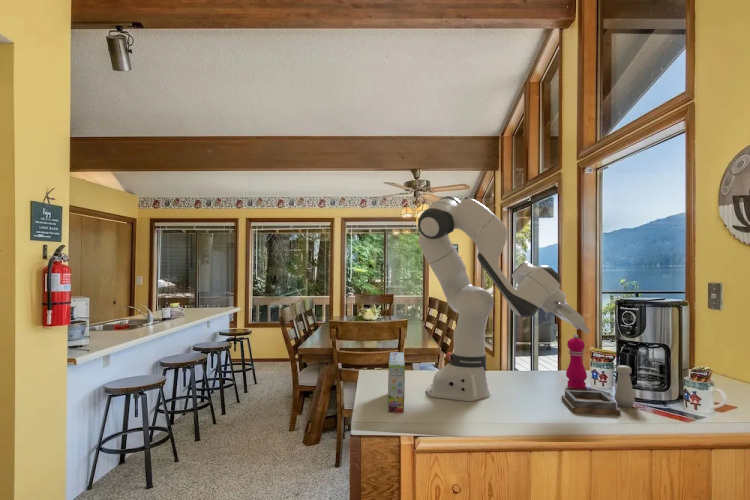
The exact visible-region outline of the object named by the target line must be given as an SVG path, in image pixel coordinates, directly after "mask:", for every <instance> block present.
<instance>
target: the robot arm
mask: <svg viewBox="0 0 750 500" xmlns="http://www.w3.org/2000/svg"><path fill="white" fill-rule="evenodd" d="M417 228H418V231H419V232H420V234H419V236H418V246H419V247H420V249H421V253H422V254H423V256H424V258H425V261H426V262H427V264H428V266H429V267H430V269H431V270H432V272H433V273H434V275H435V277H436V279H437V281H438V282H439V284H440V287H441V289H442V292H443V294H444V297H445V299H446V303H447V305H448V307H449V308H450V309H451V310H452V311H453V312H455V313H457V314H458V317H457V323H456V327H455V329H454V331H453V353H452V352H447V353H446V358H447V364H446V365H445V366H443V367H442V368H440V369H439V370H438V371H436V373H435V374H434V376H433V379H432V383H431V384H429V385H428V386H427V387H426V394H427V396H429V397H431V398H438V399H445V400H457V401H463V402H475V401H478V400H482V399H485V398H486V399H487V398H488V397H489V396H490V395H491V393H490V390H489V385H488V380H487V374H486V373H487V366H488V365H487V355H486V350H485V349H486V343H485V342H486V339H485V338H486V329H487V323H488V319H489V316H490V313H491V312H492V311H493V309H494V303H495V301H494V298H493V296H492V294H491V292H489V291H488V290H487V289H484V288H483V287H480V286H476V285H473V284H472V283H471V281H470V279H469V276H468V274H467V266H466V264H465V262H464V261H463V260H462V258H461V256H460V254H459V253H458V251H457V250H456V247H455V246H454V244H453V243H452V242H451V239H450V238H449V237H450V236H449V234H451V233H452V232H454V230H460V231H462V232H463V233H464V234H466V235H467V236H468V237H469V238H470V239H471V240H472V242H474V244H475V246H476V249H477V256H476V257H477V260H478V263H480V265H481V268H482V269H483V270H484V271H485V273H486V274H487V275H488V276H487V277H489V279H490V280H491V281H492V282H493V284H494V286H496V288H497V290H498V292H500V293H501V295H502V297H503V299H505V301H506V303H507V304H508V306H509V308H510V309H511V311H512V312H513V313H514V314H515V315H517V316H518V317H520V318H531V317H534V316H535V315H536V313H537V312H538V311H539V310H540V308H541V309H542V310H543V312H544V313H547V314H548V313H551V314H553V315H555V316H556V317H557V318H559V319H560V320H562V321H564V322H566V323H568V324H570V325H571V326H572V327H574V328H575V329H576V330H581V331H582V332H583V333H584V334H585V335H588V334H589V333H590V332H591V329H589V328H588V326H587V325H586V324H585V318H584V316H582V315H581V314H580V313H579V312H578V311H576V309H574V308H573V307H572V306H571V305H570V304H568V300H566V298H567V294H566V293H564V292H563V291H562V289H560V286H561V284H562V281H561V280H562V279H561V275H559V273H558V272H556V270H554V269H553V268H552V267H551V266H550V265H549V264H548V265H544V264H543V265H538V266H535V265H534V264H532V263H531V262H529V261H527V260H526V261H523V262H521V264H519V265H517V267H516V268H515V270H513V272H512V273H511V277H512V279H513V280H514V282H515V283H516V284H517V286H513V285H512V284H511V282H510V281H509V280H508V278H507V277H506V276H505V274H504V273H503V271H502V270H501V268H500V264H499V263H500V262H499V261H500V258H501V254H502V252H503V250H504V247H505V245H506V242H507V239H508V231H507V227H506V224H504V222H503V221H502V219H500V218H499V217H498V216H497V215H496V214H495V213H494V212H493V211H491V210H490V209H489V208H488V207H486V206H485V205H484V204H482V203H481V202H480V201H477V200H476V199H474V198H467V199H463V200H462V201H461V200H460V199H459V198H457V197H455V196H445V197H442V198H440V199H438V200H437V201H435V202H433V203H432V204H430V205H429V207H427V209H425V210H423V211H422V213H421V214H420V216H419V217H418V221H417Z"/></svg>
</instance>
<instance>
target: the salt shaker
mask: <svg viewBox="0 0 750 500" xmlns="http://www.w3.org/2000/svg"><path fill="white" fill-rule="evenodd" d="M616 372H617V373H618V376H617V382H616V387H615V393H614V400H615V401H616V405H617V406H618V407H622V408H629V409H630V408H632V407H633V405H634V403H635V401H636V397H635V393H634V390H633V384H632V379H631V376H630V375H631V374H632V367H630V366H629V365H623V364H622V365H621V364H620V365H617V366H616Z"/></svg>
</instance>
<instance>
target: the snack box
mask: <svg viewBox="0 0 750 500" xmlns="http://www.w3.org/2000/svg"><path fill="white" fill-rule="evenodd" d="M405 365H406V364H405V353H404V352H397V351H395V352H389V360H388V377H387V381H388V382H387V407H388V408H387V413H399V414H404V411H405V394H406V393H405V392H406V391H405V390H406V387H405V383H406V381H405V380H406V379H405V378H406V370H405V369H406V366H405Z"/></svg>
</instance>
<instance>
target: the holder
mask: <svg viewBox="0 0 750 500" xmlns="http://www.w3.org/2000/svg"><path fill="white" fill-rule="evenodd" d="M561 401H562V402H563V404H565V406H566V407H567V408H568V409H569V411H570V412H571V413H573V414H590V415H591V414H593V415H611V416H612V415H614V416H621V412H622V411H621V409H619V408H618V407H617V402H615V401H614V399H612V398H611V397H610V396H608V395H607V394H606V393H605V392H603V391H596V390H595V391H593V390H592V391H591V390H571V389H570V390H569V389H565V390H564V395H563V394H562V395H561Z"/></svg>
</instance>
